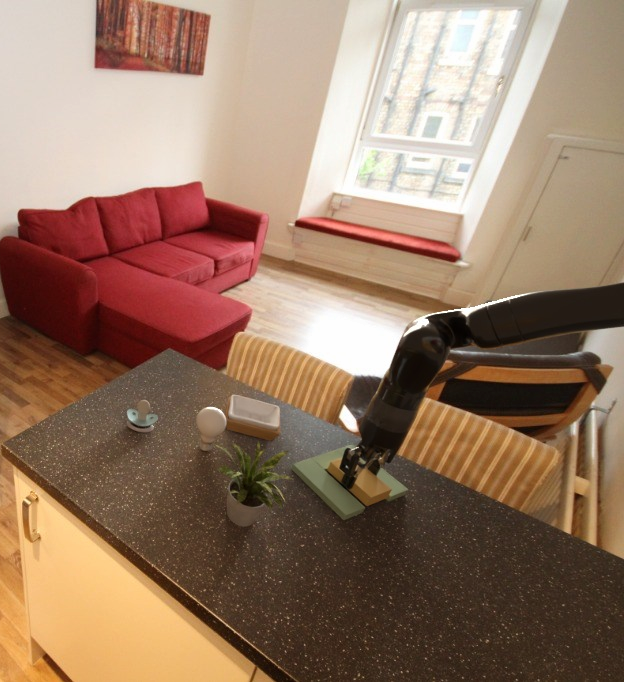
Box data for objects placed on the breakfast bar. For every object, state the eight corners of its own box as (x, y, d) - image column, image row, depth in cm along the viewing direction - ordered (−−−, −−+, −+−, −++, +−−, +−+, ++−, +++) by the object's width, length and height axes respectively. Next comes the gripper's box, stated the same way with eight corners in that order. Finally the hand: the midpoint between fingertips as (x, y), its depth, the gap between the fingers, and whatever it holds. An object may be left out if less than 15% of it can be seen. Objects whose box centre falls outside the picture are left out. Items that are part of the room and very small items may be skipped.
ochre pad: (346, 463, 97) (350, 454, 96) (387, 497, 89) (392, 489, 88) (326, 470, 95) (330, 461, 93) (366, 506, 87) (371, 497, 85)
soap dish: (221, 431, 105) (225, 414, 102) (225, 407, 113) (229, 391, 110) (276, 446, 102) (281, 429, 99) (276, 420, 110) (281, 404, 107)
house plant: (191, 535, 80) (208, 469, 71) (199, 479, 91) (214, 417, 83) (273, 558, 77) (300, 493, 69) (271, 497, 88) (294, 435, 80)
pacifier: (153, 437, 101) (158, 420, 106) (156, 416, 98) (161, 400, 103) (122, 429, 103) (128, 413, 108) (124, 408, 100) (130, 393, 105)
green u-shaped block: (343, 520, 85) (346, 515, 84) (290, 468, 96) (292, 463, 95) (405, 494, 92) (408, 489, 91) (350, 449, 103) (352, 444, 102)
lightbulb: (184, 448, 99) (192, 409, 93) (200, 435, 103) (209, 397, 98) (209, 463, 95) (219, 424, 90) (224, 449, 99) (234, 410, 94)
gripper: (379, 439, 77) (347, 505, 86) (432, 422, 83) (397, 485, 91) (344, 413, 83) (317, 477, 92) (396, 398, 89) (366, 460, 97)
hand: (357, 481), depth 91 cm, fingers closed on ochre pad, 6 cm apart
